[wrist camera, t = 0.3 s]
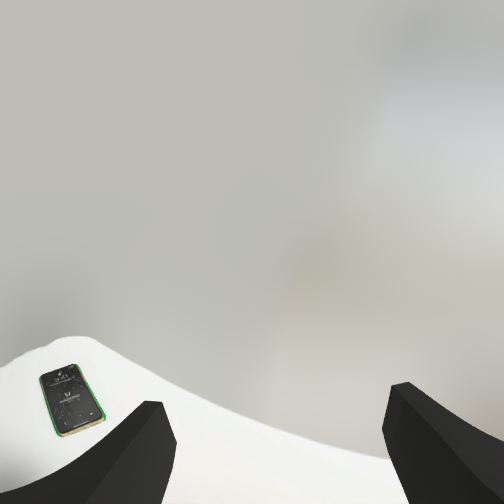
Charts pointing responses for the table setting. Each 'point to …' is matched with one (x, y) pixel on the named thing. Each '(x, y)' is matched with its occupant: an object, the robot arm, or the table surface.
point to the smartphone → (70, 400)
